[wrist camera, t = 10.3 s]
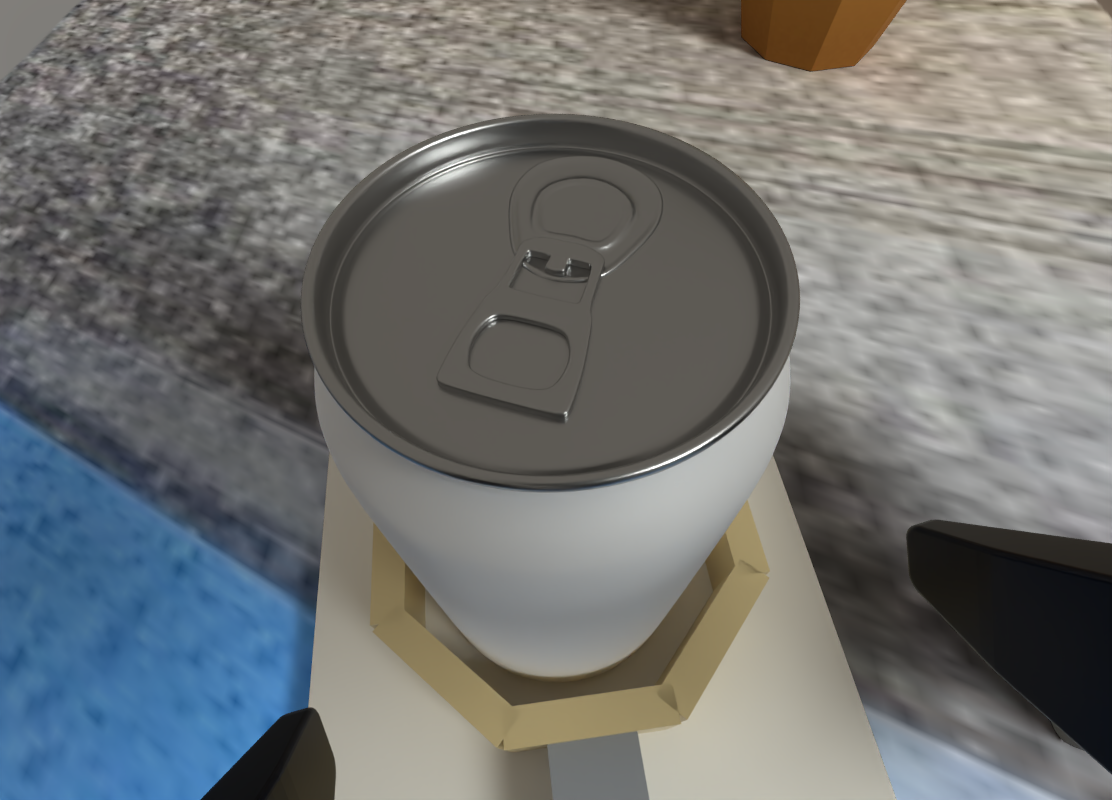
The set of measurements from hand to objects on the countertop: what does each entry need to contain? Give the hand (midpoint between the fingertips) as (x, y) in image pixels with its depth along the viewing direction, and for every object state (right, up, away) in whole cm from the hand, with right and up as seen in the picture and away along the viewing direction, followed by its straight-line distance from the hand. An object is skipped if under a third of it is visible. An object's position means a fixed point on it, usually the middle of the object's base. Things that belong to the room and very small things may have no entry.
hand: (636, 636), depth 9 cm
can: (-1, -1, +9) cm, 9 cm away
